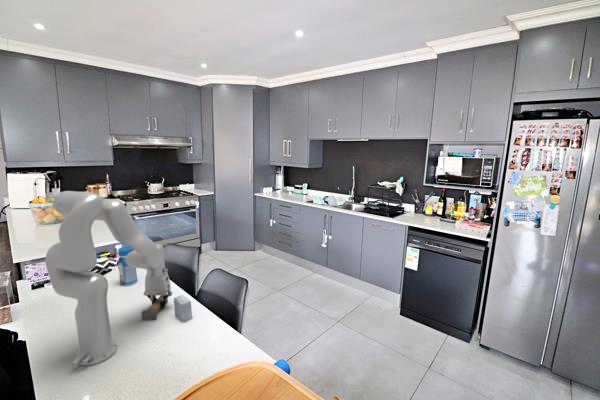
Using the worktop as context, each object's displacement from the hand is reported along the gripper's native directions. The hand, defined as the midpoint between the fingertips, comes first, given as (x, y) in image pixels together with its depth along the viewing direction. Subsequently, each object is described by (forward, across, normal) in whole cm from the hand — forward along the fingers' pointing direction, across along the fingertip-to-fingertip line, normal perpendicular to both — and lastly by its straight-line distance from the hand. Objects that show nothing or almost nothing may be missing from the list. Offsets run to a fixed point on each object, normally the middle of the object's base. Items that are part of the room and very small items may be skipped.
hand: (159, 307), depth 136 cm
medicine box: (+1, -14, +6) cm, 15 cm away
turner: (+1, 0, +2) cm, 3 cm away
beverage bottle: (+1, +29, -24) cm, 38 cm away
